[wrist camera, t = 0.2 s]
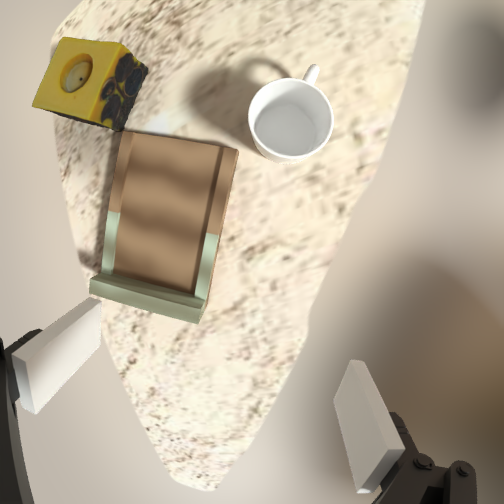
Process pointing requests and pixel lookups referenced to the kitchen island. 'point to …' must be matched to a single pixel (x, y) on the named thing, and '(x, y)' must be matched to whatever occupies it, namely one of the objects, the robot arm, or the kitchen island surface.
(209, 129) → the kitchen island surface
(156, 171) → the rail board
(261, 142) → the cup
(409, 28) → the kitchen island surface
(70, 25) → the kitchen island surface
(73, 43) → the candle
